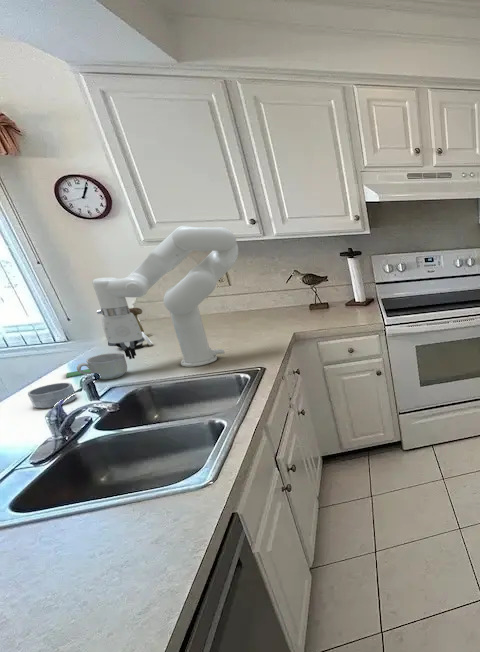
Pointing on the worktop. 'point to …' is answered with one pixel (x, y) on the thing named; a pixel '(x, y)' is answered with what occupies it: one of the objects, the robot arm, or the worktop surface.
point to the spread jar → (140, 342)
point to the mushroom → (136, 312)
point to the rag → (76, 373)
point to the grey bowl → (51, 395)
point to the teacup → (106, 365)
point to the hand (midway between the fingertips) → (132, 357)
